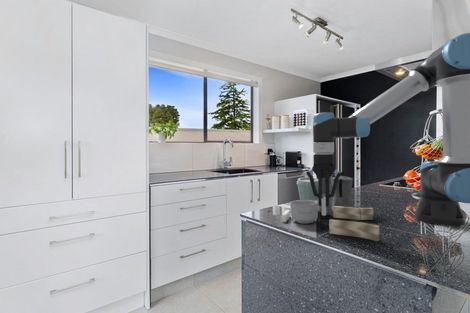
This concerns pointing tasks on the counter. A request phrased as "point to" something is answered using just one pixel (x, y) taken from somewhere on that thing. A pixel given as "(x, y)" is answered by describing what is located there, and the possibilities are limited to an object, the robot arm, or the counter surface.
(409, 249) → the counter surface
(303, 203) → the teacup
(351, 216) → the channel
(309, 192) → the disposable coffee cup
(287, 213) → the bumper
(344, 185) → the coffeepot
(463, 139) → the robot arm
